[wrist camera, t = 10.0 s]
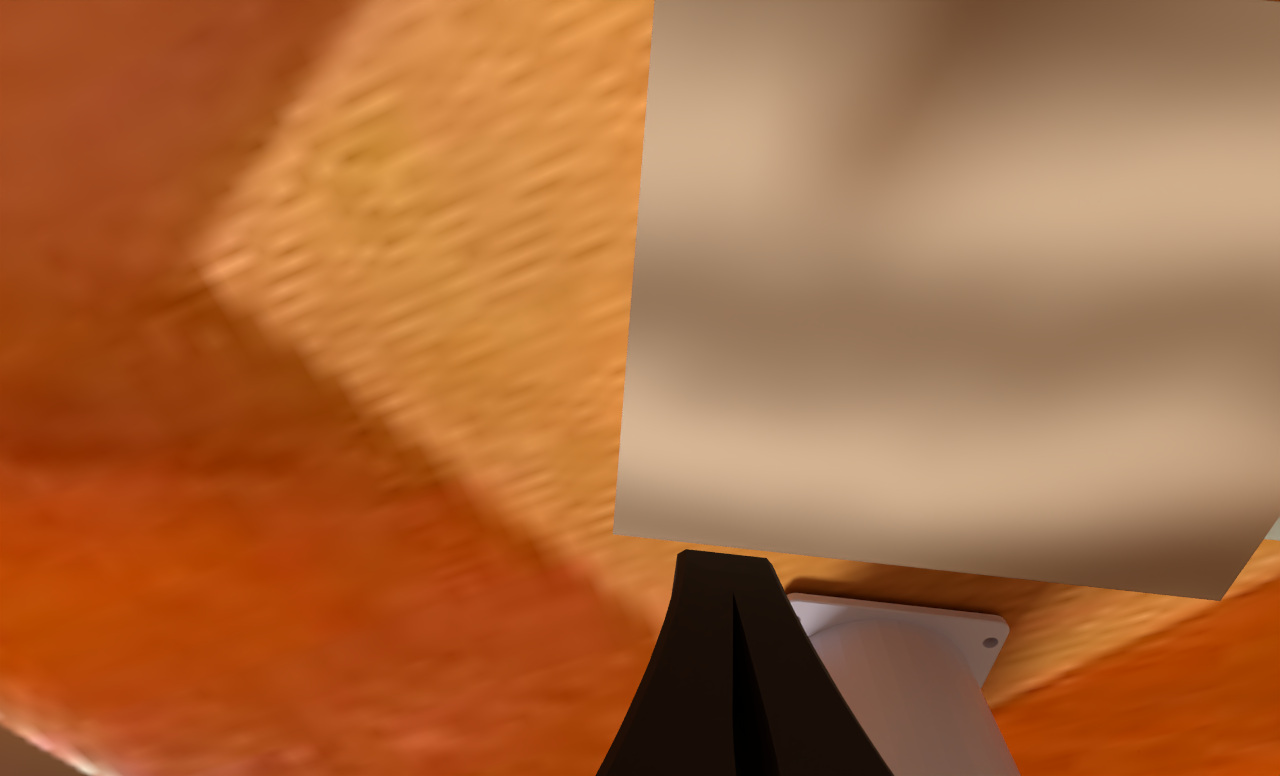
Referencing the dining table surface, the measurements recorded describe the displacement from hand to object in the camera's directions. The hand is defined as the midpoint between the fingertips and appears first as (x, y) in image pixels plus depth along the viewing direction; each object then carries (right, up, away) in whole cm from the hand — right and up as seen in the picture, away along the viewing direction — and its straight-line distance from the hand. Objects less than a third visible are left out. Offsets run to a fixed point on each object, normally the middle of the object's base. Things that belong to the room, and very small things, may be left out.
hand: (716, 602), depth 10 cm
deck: (+7, +6, +7) cm, 12 cm away
